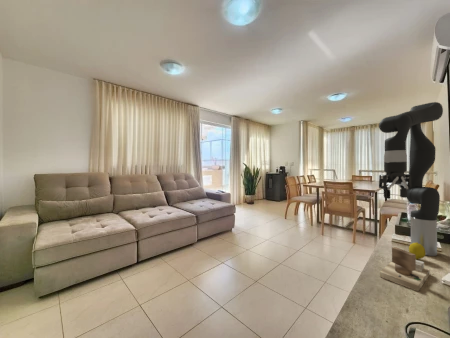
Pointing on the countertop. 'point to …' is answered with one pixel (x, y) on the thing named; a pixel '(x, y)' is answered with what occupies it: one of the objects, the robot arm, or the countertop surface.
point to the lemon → (417, 250)
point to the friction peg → (404, 262)
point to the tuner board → (406, 280)
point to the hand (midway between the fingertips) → (395, 197)
